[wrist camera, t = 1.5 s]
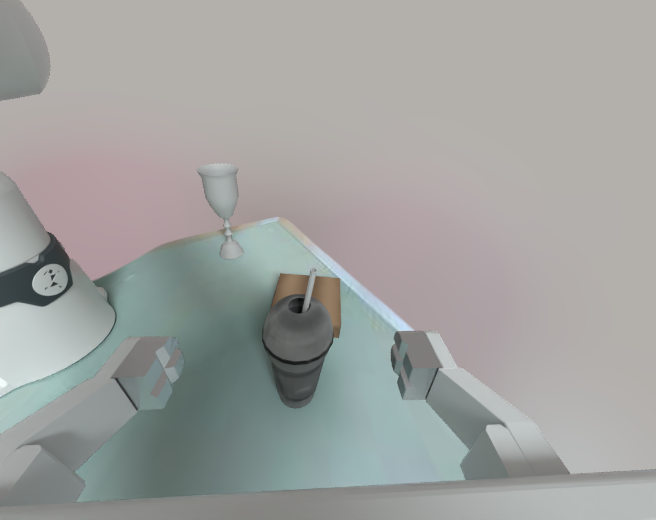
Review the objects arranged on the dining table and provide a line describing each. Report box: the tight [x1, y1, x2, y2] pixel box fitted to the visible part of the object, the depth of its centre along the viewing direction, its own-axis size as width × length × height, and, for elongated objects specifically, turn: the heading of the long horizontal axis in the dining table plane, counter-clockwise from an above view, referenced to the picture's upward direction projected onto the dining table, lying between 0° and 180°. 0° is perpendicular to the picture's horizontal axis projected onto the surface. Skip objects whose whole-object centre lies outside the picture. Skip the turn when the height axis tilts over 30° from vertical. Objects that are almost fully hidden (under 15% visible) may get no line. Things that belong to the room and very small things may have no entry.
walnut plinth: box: [271, 273, 341, 338], centre depth 43 cm, size 11×11×3 cm
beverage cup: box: [262, 268, 334, 408], centre depth 27 cm, size 7×7×20 cm
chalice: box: [197, 164, 244, 259], centre depth 50 cm, size 7×7×18 cm
